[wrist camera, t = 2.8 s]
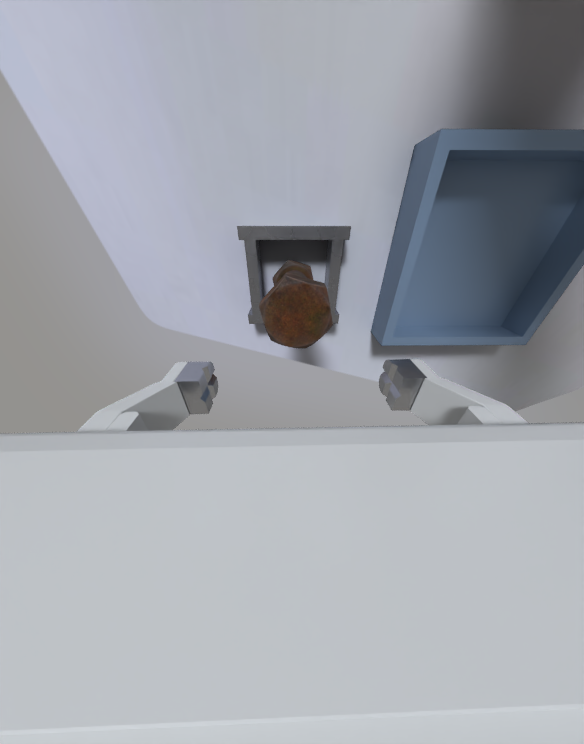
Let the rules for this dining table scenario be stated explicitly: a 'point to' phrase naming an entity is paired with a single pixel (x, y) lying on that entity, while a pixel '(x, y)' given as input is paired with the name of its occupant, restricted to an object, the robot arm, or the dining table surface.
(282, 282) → the bolt
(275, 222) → the dining table surface
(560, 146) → the tray
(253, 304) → the bracket
